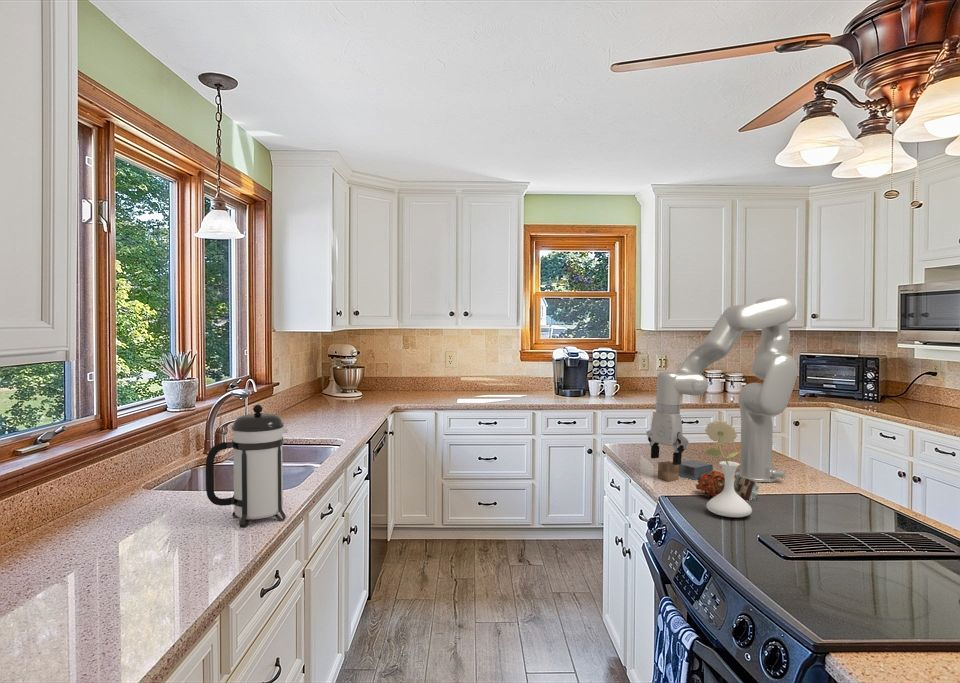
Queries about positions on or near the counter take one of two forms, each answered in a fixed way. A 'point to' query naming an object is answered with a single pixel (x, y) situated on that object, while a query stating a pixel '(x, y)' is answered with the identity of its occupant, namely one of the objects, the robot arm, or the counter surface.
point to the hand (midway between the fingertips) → (665, 461)
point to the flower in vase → (726, 474)
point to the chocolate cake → (745, 488)
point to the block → (668, 471)
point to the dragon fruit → (711, 483)
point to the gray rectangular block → (694, 469)
